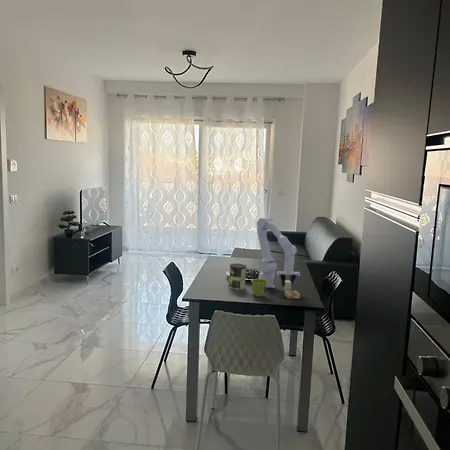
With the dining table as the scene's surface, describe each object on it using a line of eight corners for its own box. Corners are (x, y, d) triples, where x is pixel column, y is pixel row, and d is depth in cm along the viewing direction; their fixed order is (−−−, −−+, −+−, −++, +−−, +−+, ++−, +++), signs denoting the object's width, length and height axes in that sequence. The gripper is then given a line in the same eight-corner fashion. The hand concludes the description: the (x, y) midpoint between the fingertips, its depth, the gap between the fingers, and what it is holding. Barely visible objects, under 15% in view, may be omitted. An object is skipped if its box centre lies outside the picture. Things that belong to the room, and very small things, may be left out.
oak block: (288, 298, 252) (288, 294, 252) (284, 295, 259) (284, 290, 259) (299, 299, 254) (299, 294, 253) (295, 295, 260) (295, 290, 260)
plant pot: (249, 292, 259) (250, 278, 258) (264, 292, 260) (265, 279, 259) (251, 297, 250) (252, 282, 249) (267, 297, 251) (268, 283, 250)
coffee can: (232, 290, 261) (233, 267, 259) (226, 285, 271) (227, 263, 269) (247, 289, 265) (249, 267, 263) (241, 284, 275) (242, 263, 273)
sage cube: (284, 290, 263) (285, 282, 262) (282, 288, 267) (283, 280, 266) (290, 290, 264) (291, 282, 263) (288, 288, 267) (289, 280, 267)
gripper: (279, 266, 258) (277, 288, 260) (302, 267, 260) (300, 288, 262) (276, 263, 265) (274, 284, 267) (298, 264, 267) (296, 285, 269)
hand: (286, 286), depth 265 cm, fingers closed on sage cube, 4 cm apart
